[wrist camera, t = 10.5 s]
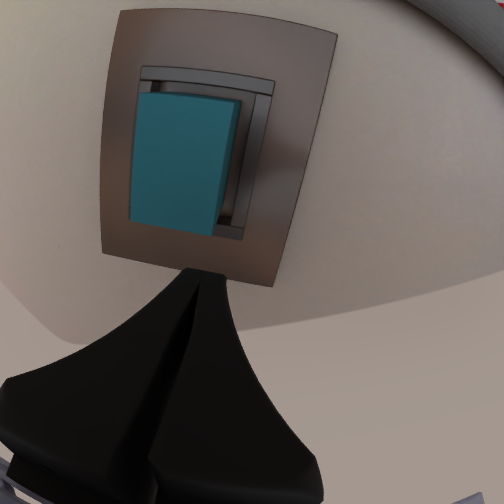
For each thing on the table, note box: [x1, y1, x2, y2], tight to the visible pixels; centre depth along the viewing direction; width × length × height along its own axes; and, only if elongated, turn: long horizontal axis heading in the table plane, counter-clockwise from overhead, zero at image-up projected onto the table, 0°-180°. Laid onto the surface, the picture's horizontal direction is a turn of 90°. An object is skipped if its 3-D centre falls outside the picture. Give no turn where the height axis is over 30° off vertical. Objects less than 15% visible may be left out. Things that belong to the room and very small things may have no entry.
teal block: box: [131, 91, 242, 236], centre depth 14 cm, size 6×4×4 cm, turn 169°
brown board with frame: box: [100, 8, 338, 287], centre depth 15 cm, size 16×12×2 cm
